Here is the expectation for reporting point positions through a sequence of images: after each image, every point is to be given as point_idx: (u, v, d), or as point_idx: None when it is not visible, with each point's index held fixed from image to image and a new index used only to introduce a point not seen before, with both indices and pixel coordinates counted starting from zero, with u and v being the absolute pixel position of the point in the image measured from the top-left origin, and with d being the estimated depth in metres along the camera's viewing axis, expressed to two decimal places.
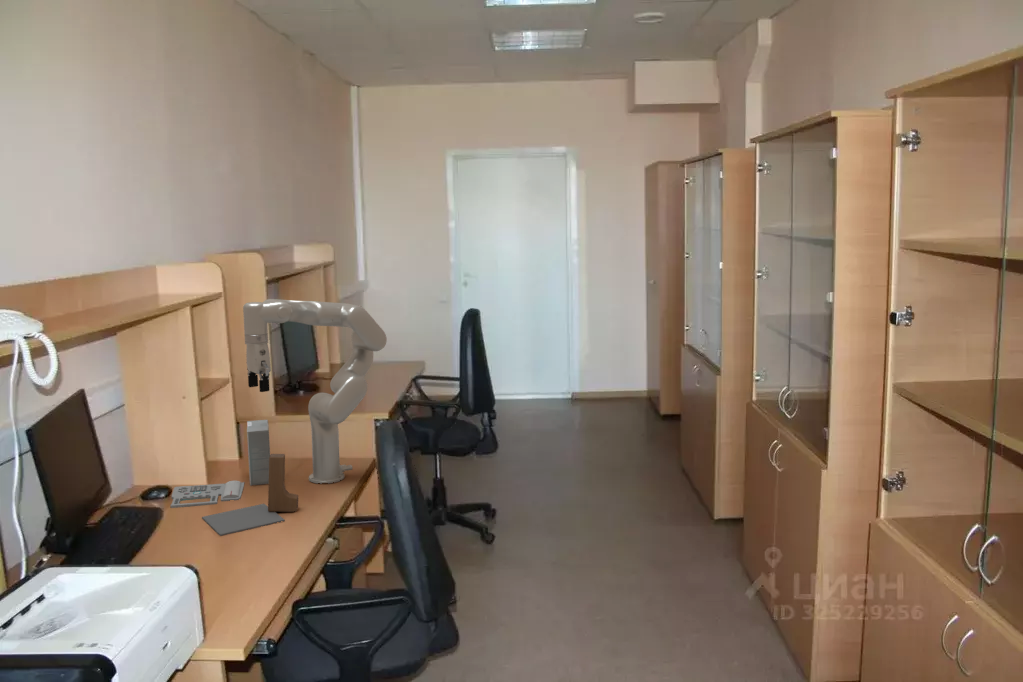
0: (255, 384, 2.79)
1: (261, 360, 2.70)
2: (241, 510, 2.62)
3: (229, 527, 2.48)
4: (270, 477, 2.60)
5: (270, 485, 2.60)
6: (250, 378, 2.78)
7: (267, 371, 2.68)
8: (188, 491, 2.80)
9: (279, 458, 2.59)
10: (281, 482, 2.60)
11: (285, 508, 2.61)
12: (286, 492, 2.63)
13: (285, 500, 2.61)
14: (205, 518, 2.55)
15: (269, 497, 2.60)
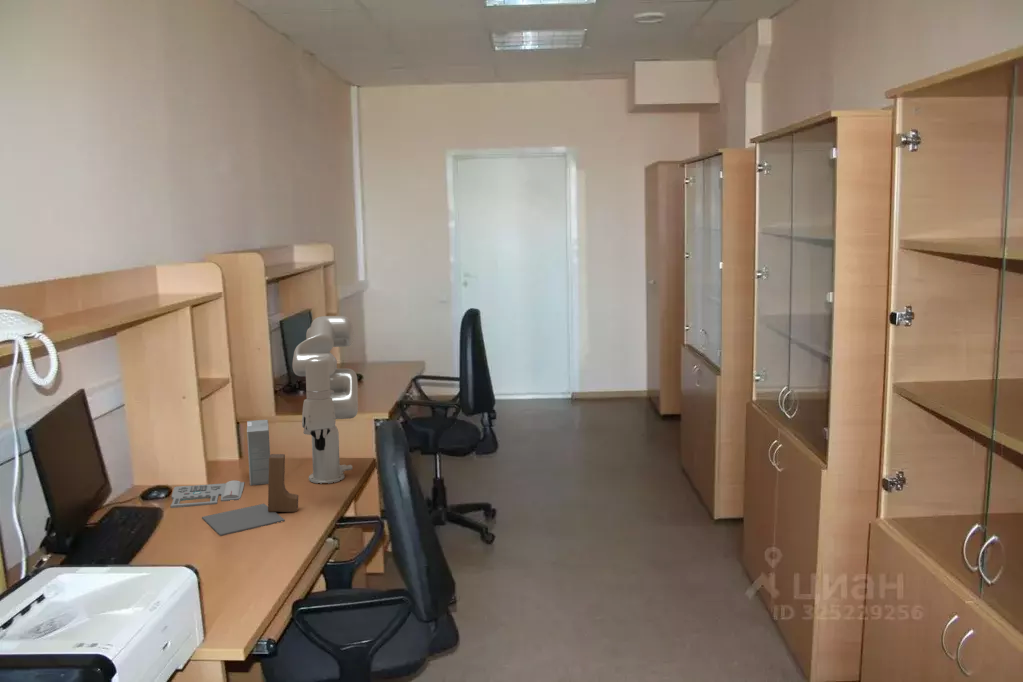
0: None
1: None
2: (241, 510, 2.62)
3: (229, 527, 2.48)
4: (270, 477, 2.59)
5: (270, 485, 2.60)
6: None
7: None
8: (188, 491, 2.80)
9: (279, 458, 2.59)
10: (281, 482, 2.60)
11: (285, 508, 2.61)
12: (286, 492, 2.63)
13: (285, 501, 2.61)
14: (205, 518, 2.55)
15: (269, 497, 2.60)
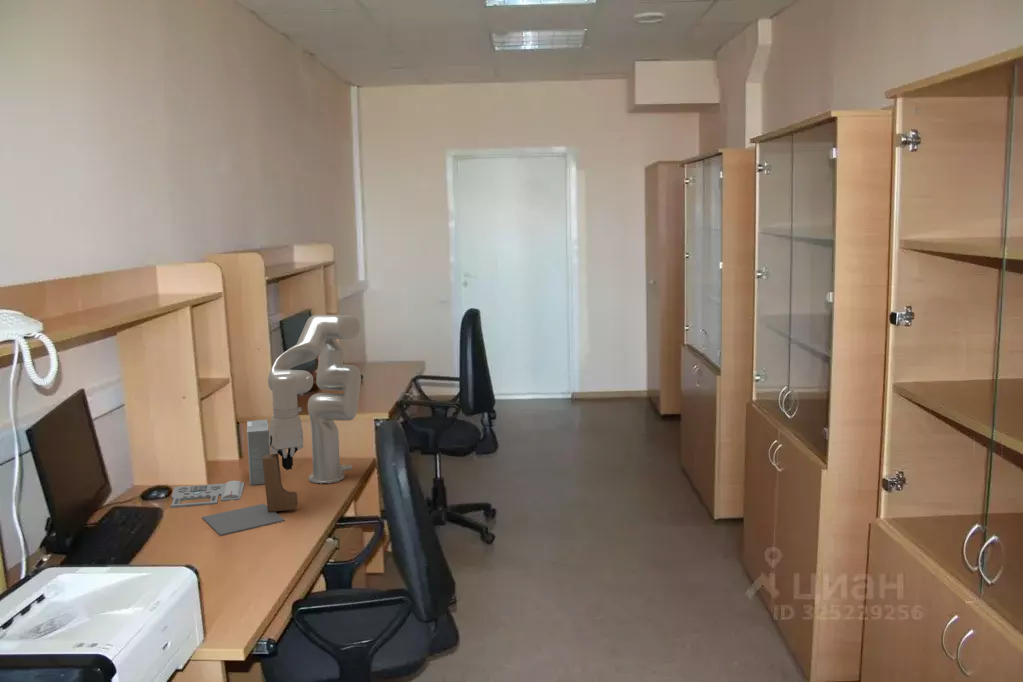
0: None
1: None
2: (241, 510, 2.62)
3: (229, 527, 2.48)
4: (266, 478, 2.59)
5: (267, 486, 2.59)
6: None
7: None
8: (188, 491, 2.80)
9: (272, 458, 2.58)
10: (277, 482, 2.60)
11: (285, 507, 2.61)
12: (284, 491, 2.62)
13: (284, 499, 2.61)
14: (205, 518, 2.55)
15: (267, 498, 2.60)
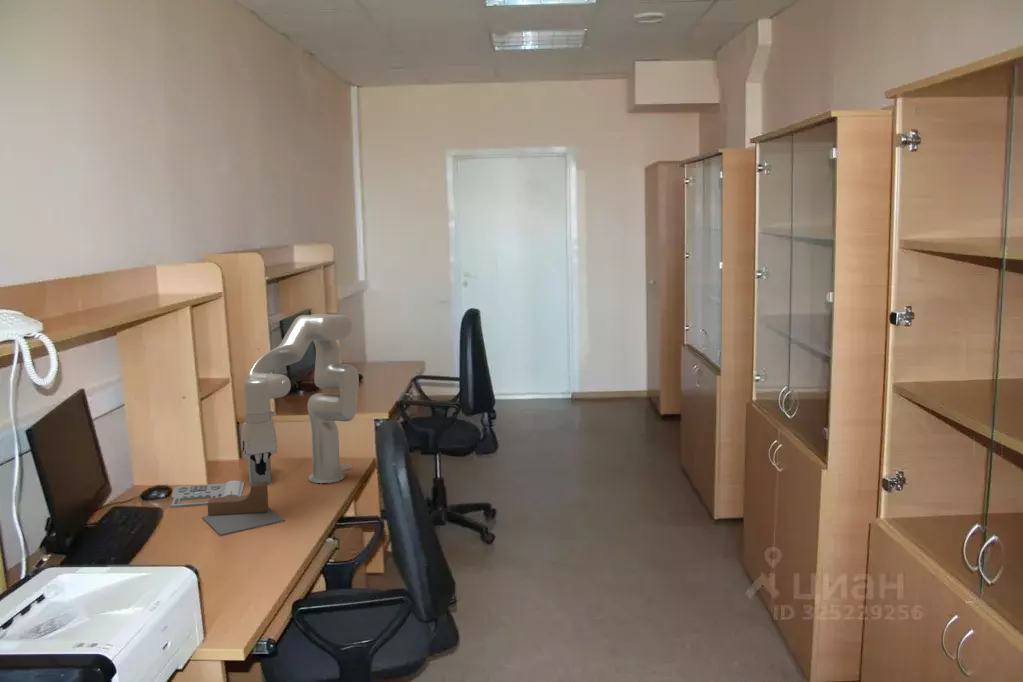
0: None
1: None
2: None
3: (229, 527, 2.48)
4: (229, 512, 2.59)
5: (238, 512, 2.59)
6: None
7: None
8: (188, 491, 2.80)
9: (209, 506, 2.57)
10: (234, 502, 2.58)
11: (262, 496, 2.59)
12: (247, 495, 2.61)
13: (253, 497, 2.59)
14: (205, 518, 2.55)
15: (251, 512, 2.60)
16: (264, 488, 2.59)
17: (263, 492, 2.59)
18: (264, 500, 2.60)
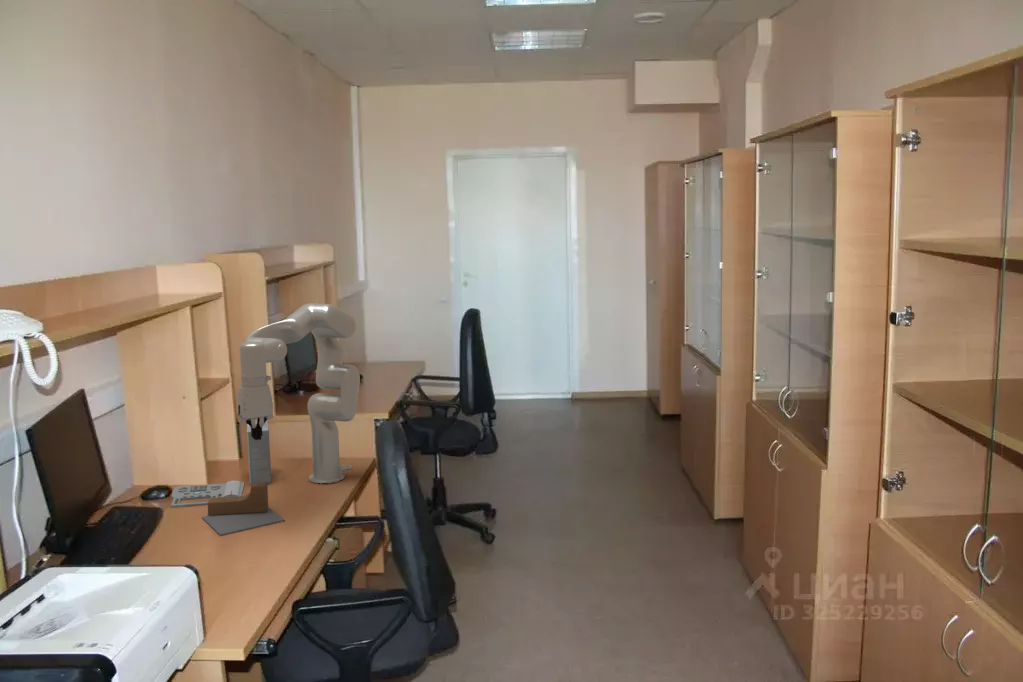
0: None
1: None
2: None
3: (229, 527, 2.48)
4: (229, 512, 2.59)
5: (238, 512, 2.59)
6: None
7: None
8: (188, 491, 2.80)
9: (209, 506, 2.57)
10: (234, 502, 2.58)
11: (262, 496, 2.59)
12: (247, 495, 2.61)
13: (253, 497, 2.59)
14: (205, 518, 2.55)
15: (251, 512, 2.60)
16: (264, 488, 2.59)
17: (263, 492, 2.59)
18: (264, 500, 2.60)
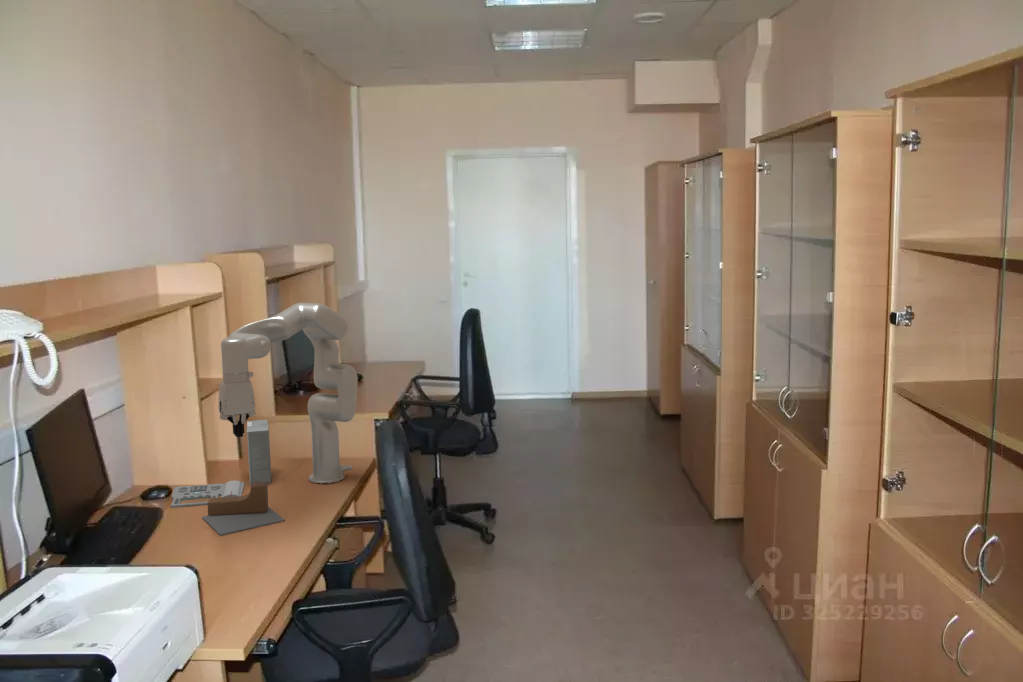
0: None
1: None
2: None
3: (229, 527, 2.48)
4: (229, 512, 2.59)
5: (238, 512, 2.59)
6: None
7: None
8: (188, 491, 2.80)
9: (209, 506, 2.57)
10: (234, 502, 2.58)
11: (262, 496, 2.59)
12: (247, 495, 2.61)
13: (253, 497, 2.59)
14: (205, 518, 2.55)
15: (251, 512, 2.60)
16: (264, 488, 2.59)
17: (263, 492, 2.59)
18: (264, 500, 2.60)
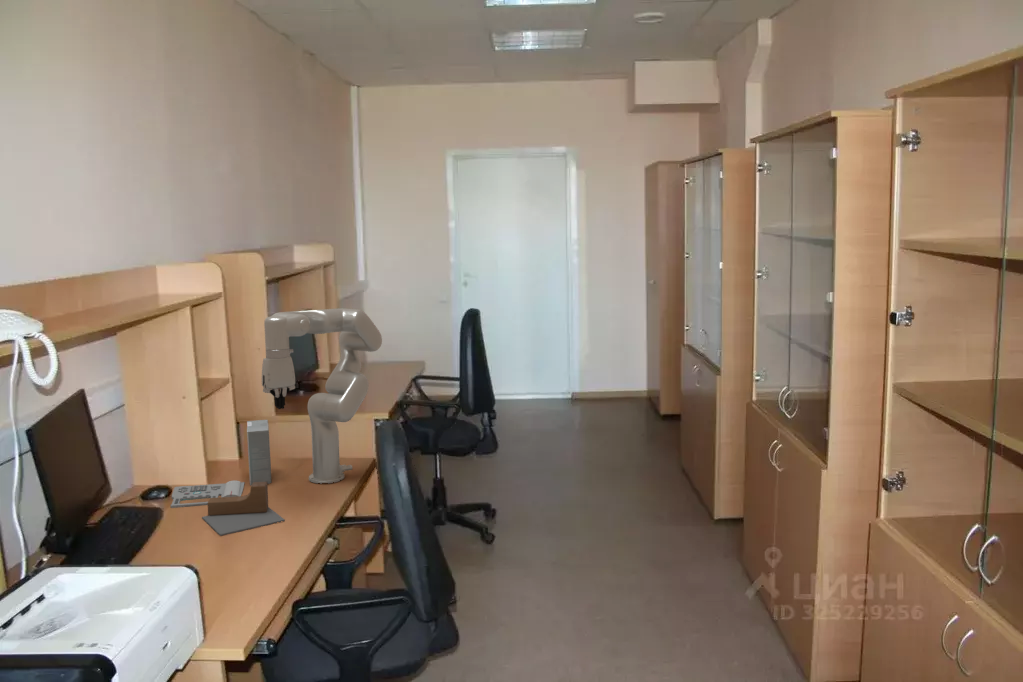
0: None
1: None
2: None
3: (229, 527, 2.48)
4: (229, 512, 2.59)
5: (238, 512, 2.59)
6: None
7: None
8: (188, 491, 2.80)
9: (209, 506, 2.57)
10: (234, 502, 2.58)
11: (262, 496, 2.59)
12: (247, 495, 2.61)
13: (253, 497, 2.59)
14: (205, 518, 2.55)
15: (251, 512, 2.60)
16: (264, 488, 2.59)
17: (263, 492, 2.59)
18: (264, 500, 2.60)
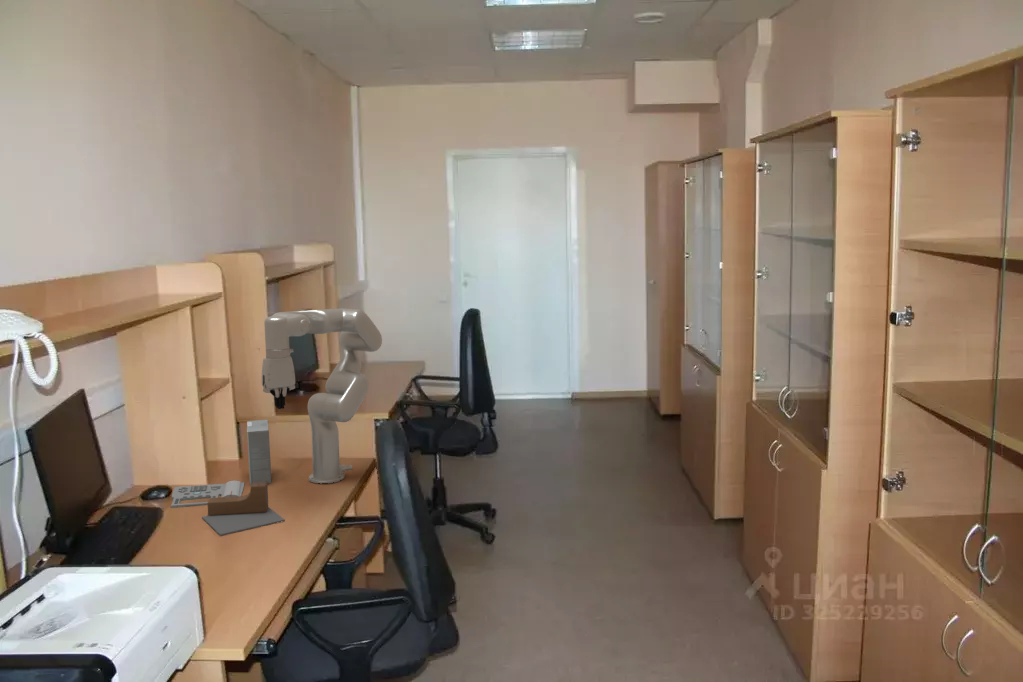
0: None
1: None
2: None
3: (229, 527, 2.48)
4: (229, 512, 2.59)
5: (238, 512, 2.59)
6: None
7: None
8: (188, 491, 2.80)
9: (209, 506, 2.57)
10: (234, 502, 2.58)
11: (262, 496, 2.59)
12: (247, 495, 2.61)
13: (253, 497, 2.59)
14: (205, 518, 2.55)
15: (251, 512, 2.60)
16: (264, 488, 2.59)
17: (263, 492, 2.59)
18: (264, 500, 2.60)
